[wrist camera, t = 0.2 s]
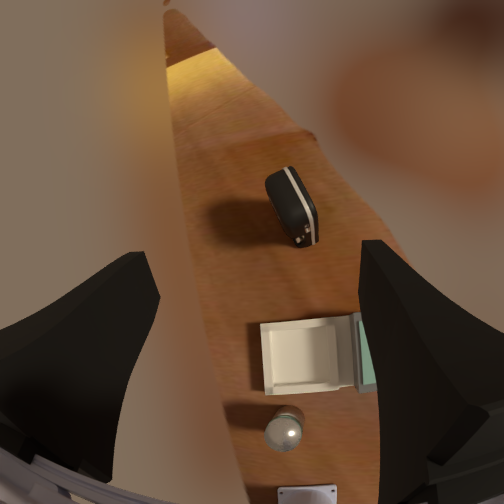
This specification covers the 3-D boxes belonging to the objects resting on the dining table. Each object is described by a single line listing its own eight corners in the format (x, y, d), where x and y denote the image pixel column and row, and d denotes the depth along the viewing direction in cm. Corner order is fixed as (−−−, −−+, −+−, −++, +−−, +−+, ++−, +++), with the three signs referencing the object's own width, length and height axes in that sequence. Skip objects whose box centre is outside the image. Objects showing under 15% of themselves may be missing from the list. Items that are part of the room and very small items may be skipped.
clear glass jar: (305, 432, 36) (302, 451, 29) (274, 434, 37) (264, 452, 30) (304, 404, 37) (300, 418, 30) (272, 405, 38) (262, 419, 31)
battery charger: (273, 211, 44) (257, 172, 33) (298, 199, 44) (289, 158, 33) (294, 255, 42) (284, 228, 31) (320, 243, 41) (319, 212, 31)
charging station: (378, 381, 35) (388, 389, 30) (268, 391, 38) (258, 402, 32) (373, 312, 38) (382, 308, 32) (263, 324, 41) (253, 323, 35)
